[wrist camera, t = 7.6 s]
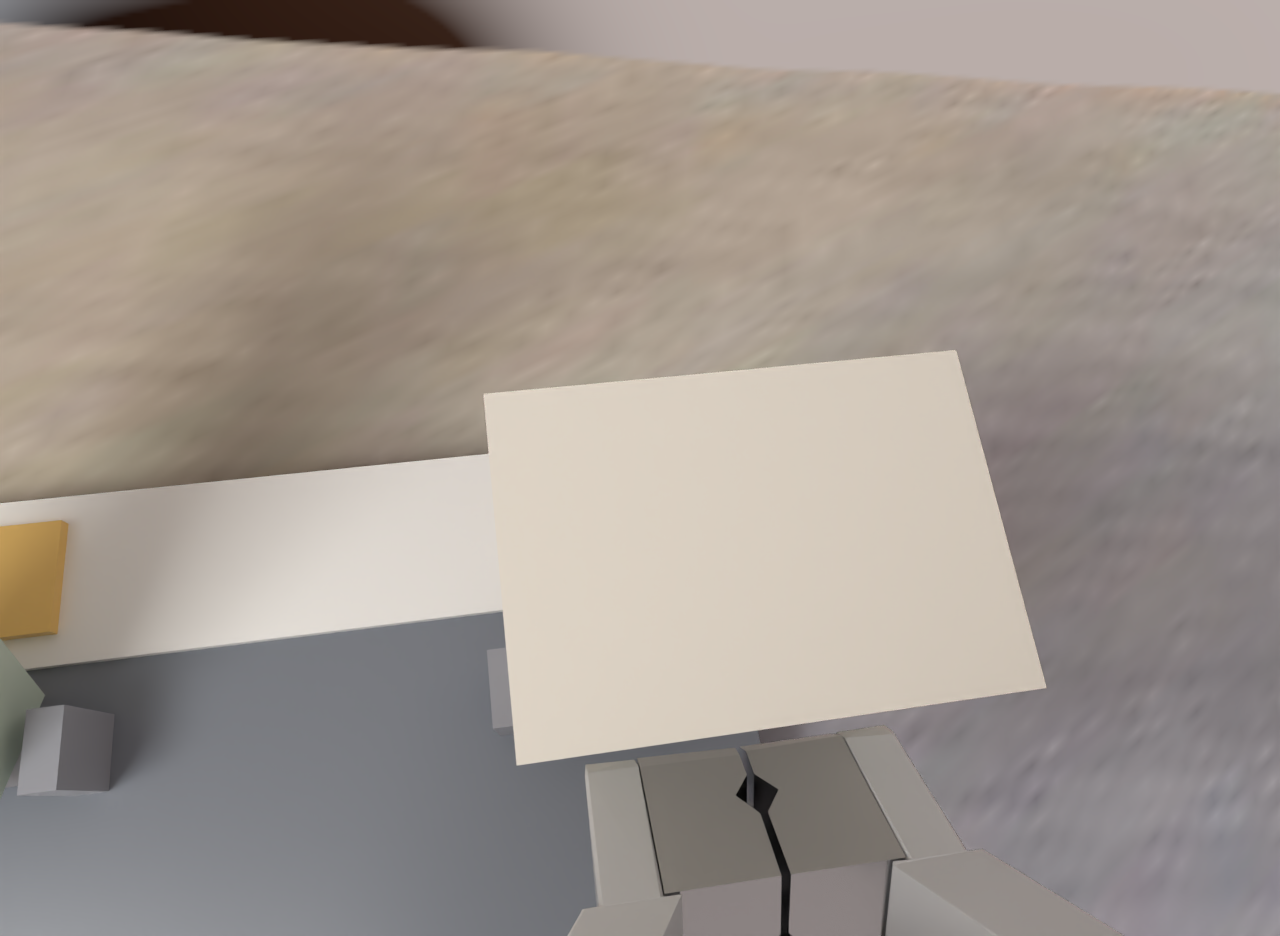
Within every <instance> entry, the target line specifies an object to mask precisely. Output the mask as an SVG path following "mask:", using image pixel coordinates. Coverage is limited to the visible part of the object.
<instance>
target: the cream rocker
mask: <svg viewBox="0 0 1280 936" xmlns="http://www.w3.org/2000/svg"><path fill="white" fill-rule="evenodd" d="M483 396H484V407H485V418H486V429H487V440H488V452H489V463H490V474H491V485H492V496H493V507H494V519H495V530H496V541H497V552H498V563H499V575H500V586H501V597H502V608H503V619H504V630H505V642H506V653H507V664H508V675H509V686H510V697H511V709H512V720H513V731H514V742H515V753H516V765H517V766H518V765H524V764H531V763H538V762H545V761H552V760H559V759H565V758H572V757H579V756H586V755H593V754H600V753H606V752H613V751H620V750H627V749H634V748H641V747H647V746H654V745H661V744H668V743H675V742H682V741H688V740H695V739H702V738H709V737H716V736H723V735H729V734H736V733H743V732H750V731H757V730H763V729H770V728H777V727H784V726H791V725H798V724H804V723H811V722H818V721H825V720H832V719H839V718H845V717H852V716H859V715H866V714H873V713H880V712H886V711H893V710H900V709H907V708H914V707H921V706H927V705H934V704H941V703H948V702H955V701H962V700H968V699H975V698H982V697H989V696H996V695H1002V694H1009V693H1016V692H1023V691H1030V690H1037V689H1043V688H1047V687H1046V683H1045V679H1044V676H1043V672H1042V668H1041V665H1040V661H1039V657H1038V653H1037V650H1036V646H1035V642H1034V638H1033V635H1032V631H1031V627H1030V623H1029V620H1028V616H1027V612H1026V609H1025V605H1024V601H1023V597H1022V594H1021V590H1020V586H1019V582H1018V579H1017V575H1016V571H1015V568H1014V564H1013V560H1012V556H1011V553H1010V549H1009V545H1008V541H1007V538H1006V534H1005V530H1004V526H1003V523H1002V519H1001V515H1000V512H999V508H998V504H997V500H996V497H995V493H994V489H993V485H992V482H991V478H990V474H989V470H988V467H987V463H986V459H985V456H984V452H983V448H982V444H981V441H980V437H979V433H978V429H977V426H976V422H975V418H974V415H973V411H972V407H971V403H970V400H969V396H968V392H967V388H966V385H965V381H964V377H963V373H962V370H961V366H960V362H959V359H958V355H957V351H956V350H950V351H939V352H928V353H917V354H907V355H896V356H885V357H874V358H864V359H853V360H842V361H831V362H820V363H810V364H799V365H788V366H777V367H767V368H756V369H745V370H734V371H724V372H713V373H702V374H691V375H681V376H670V377H659V378H648V379H638V380H627V381H616V382H605V383H594V384H584V385H573V386H562V387H551V388H541V389H530V390H519V391H508V392H498V393H487V394H483Z"/></svg>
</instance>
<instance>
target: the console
mask: <svg viewBox="0 0 1280 936" xmlns="http://www.w3.org/2000/svg"><path fill="white" fill-rule="evenodd" d="M0 639H1V640H2V641H3V642H4V644H5V645H6V646H7V647H8V649H9V650H10V651H11V653H12V654H13V655H14V656H15V658H16V659H17V660H18V661H19V663H20V664H21V665H22V666H23V668H24V669H25V670H26V672H27V673H28V674H29V675H30V677H31V678H32V679H33V680H34V682H35V683H36V684H37V685H38V687H39V688H40V689H41V691H42V692H43V693H44V694H45V696H44V699H43V701H42V703H41V706H40V708H34V709H27V710H26V717H25V726H24V735H23V744H22V753H21V762H20V771H19V780H18V786H14V787H7V788H5V789H4V792H3V794H2V796H1V799H0V936H568V934H569V932H570V930H571V929H572V927H573V925H574V923H575V922H576V920H577V918H578V916H579V915H580V913H581V911H582V909H587V908H592V907H597V905H596V894H595V883H594V872H593V861H592V850H591V839H590V828H589V817H588V805H587V794H586V783H585V765H588V764H597V763H607V762H616V761H626V760H635V761H637V758H643V757H652V756H662V755H671V754H680V753H689V752H698V751H708V750H717V749H726V748H735V749H736V750H737V752H738V751H739V747H741V746H748V745H755V744H760V738H759V733H758V730H757V731H750V732H743V733H736V734H729V735H723V736H716V737H709V738H702V739H695V740H688V741H682V742H675V743H668V744H661V745H654V746H647V747H641V748H634V749H627V750H620V751H613V752H606V753H600V754H593V755H586V756H579V757H572V758H565V759H559V760H552V761H545V762H538V763H531V764H524V765H518V766H517V765H516V753H515V742H514V731H513V720H512V709H511V697H510V686H509V675H508V664H507V653H506V642H505V630H504V619H503V608H502V597H501V586H500V575H499V563H498V552H497V541H496V530H495V519H494V507H493V496H492V485H491V474H490V463H489V454H481V455H471V456H461V457H451V458H441V459H432V460H422V461H412V462H402V463H392V464H382V465H372V466H363V467H353V468H343V469H333V470H323V471H313V472H303V473H294V474H284V475H274V476H264V477H254V478H244V479H234V480H225V481H215V482H205V483H195V484H185V485H175V486H166V487H156V488H146V489H136V490H126V491H116V492H106V493H97V494H87V495H77V496H67V497H57V498H47V499H37V500H28V501H18V502H8V503H0Z"/></svg>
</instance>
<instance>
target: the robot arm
mask: <svg viewBox="0 0 1280 936" xmlns="http://www.w3.org/2000/svg"><path fill="white" fill-rule="evenodd" d="M585 783H586V794H587V805H588V817H589V828H590V839H591V850H592V861H593V872H594V883H595V894H596V905H597V907H592V908H587V909H582V911H581V913H580V915H579V916H578V918H577V920H576V922H575V923H574V925H573V927H572V929H571V930H570V932H569V934H568V936H1124V935H1122V934H1121V933H1119V932H1118V931H1116V930H1114V929H1113V928H1111V927H1109V926H1108V925H1106V924H1105V923H1103V922H1101V921H1100V920H1098V919H1096V918H1095V917H1093V916H1091V915H1090V914H1088V913H1087V912H1085V911H1083V910H1082V909H1080V908H1078V907H1077V906H1075V905H1073V904H1072V903H1070V902H1069V901H1067V900H1065V899H1064V898H1062V897H1060V896H1059V895H1057V894H1056V893H1054V892H1052V891H1051V890H1049V889H1047V888H1046V887H1044V886H1042V885H1041V884H1039V883H1038V882H1036V881H1034V880H1033V879H1031V878H1029V877H1028V876H1026V875H1024V874H1023V873H1021V872H1020V871H1018V870H1016V869H1015V868H1013V867H1011V866H1010V865H1008V864H1007V863H1005V862H1003V861H1002V860H1000V859H998V858H997V857H995V856H993V855H992V854H990V853H989V852H987V851H985V850H984V849H977V850H969V851H967V850H966V848H965V847H964V845H963V843H962V842H961V840H960V838H959V837H958V835H957V834H956V832H955V830H954V829H953V827H952V826H951V824H950V822H949V821H948V819H947V818H946V816H945V814H944V813H943V811H942V810H941V808H940V806H939V805H938V803H937V801H936V800H935V798H934V797H933V795H932V793H931V792H930V790H929V789H928V787H927V785H926V784H925V782H924V781H923V779H922V777H921V776H920V774H919V773H918V771H917V769H916V768H915V766H914V764H913V763H912V761H911V760H910V758H909V756H908V755H907V753H906V752H905V750H904V748H903V747H902V745H901V744H900V742H899V740H898V739H897V737H896V736H895V734H894V732H893V731H892V730H890V729H889V728H887V727H886V726H885V725H881V726H875V727H868V728H862V729H855V730H848V731H842V732H837V733H836V734H825V735H818V736H811V737H804V738H797V739H790V740H783V741H776V742H769V743H762V744H755V745H748V746H741V747H739V751H738V752H737V750H736V749H735V748H726V749H717V750H708V751H698V752H689V753H680V754H671V755H662V756H652V757H643V758H637V761H635V760H626V761H616V762H607V763H597V764H588V765H585Z"/></svg>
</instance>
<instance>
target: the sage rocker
mask: <svg viewBox="0 0 1280 936" xmlns="http://www.w3.org/2000/svg"><path fill="white" fill-rule="evenodd" d="M44 696H45V694H44V693H43V692H42V691H41V689H40V688H39V687H38V685H37V684H36V683H35V682H34V680H33V679H32V678H31V677H30V675H29V674H28V673H27V672H26V670H25V669H24V668H23V666H22V665H21V664H20V663H19V661H18V660H17V659H16V658H15V656H14V655H13V654H12V653H11V651H10V650H9V649H8V647H7V646H6V645H5V644H4V642H3V641H2V640H1V639H0V799H1V796H2V794H3V792H4V789H5V788H7V787H14V786H18V780H19V771H20V762H21V753H22V744H23V735H24V726H25V717H26V710H27V709H34V708H40V706H41V703H42V701H43V699H44Z"/></svg>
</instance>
